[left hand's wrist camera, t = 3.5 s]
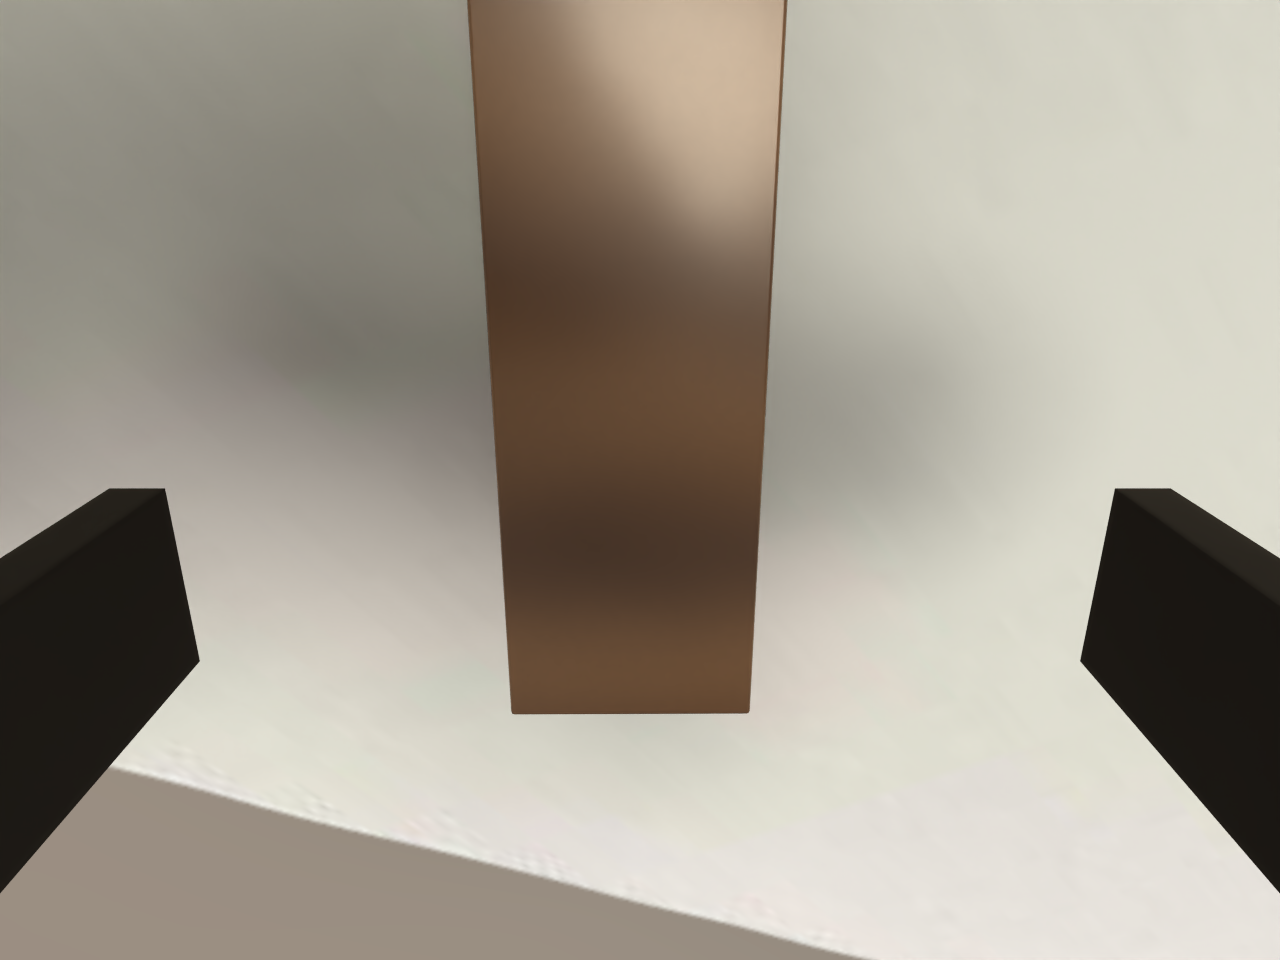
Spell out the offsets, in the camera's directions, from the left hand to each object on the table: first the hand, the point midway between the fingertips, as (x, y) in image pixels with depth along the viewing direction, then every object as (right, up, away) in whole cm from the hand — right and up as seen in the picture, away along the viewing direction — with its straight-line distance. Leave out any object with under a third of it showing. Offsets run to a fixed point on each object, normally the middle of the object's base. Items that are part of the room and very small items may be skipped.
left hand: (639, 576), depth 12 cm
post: (0, +34, 0) cm, 34 cm away
